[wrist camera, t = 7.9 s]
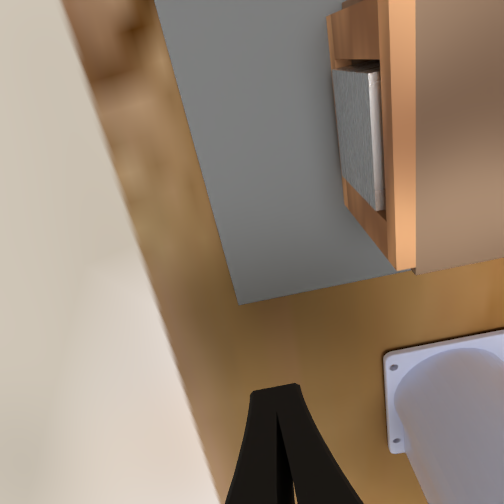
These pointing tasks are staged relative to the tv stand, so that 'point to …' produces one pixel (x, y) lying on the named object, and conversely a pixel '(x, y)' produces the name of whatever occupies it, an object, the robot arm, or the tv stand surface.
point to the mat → (269, 142)
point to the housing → (432, 126)
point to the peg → (361, 129)
